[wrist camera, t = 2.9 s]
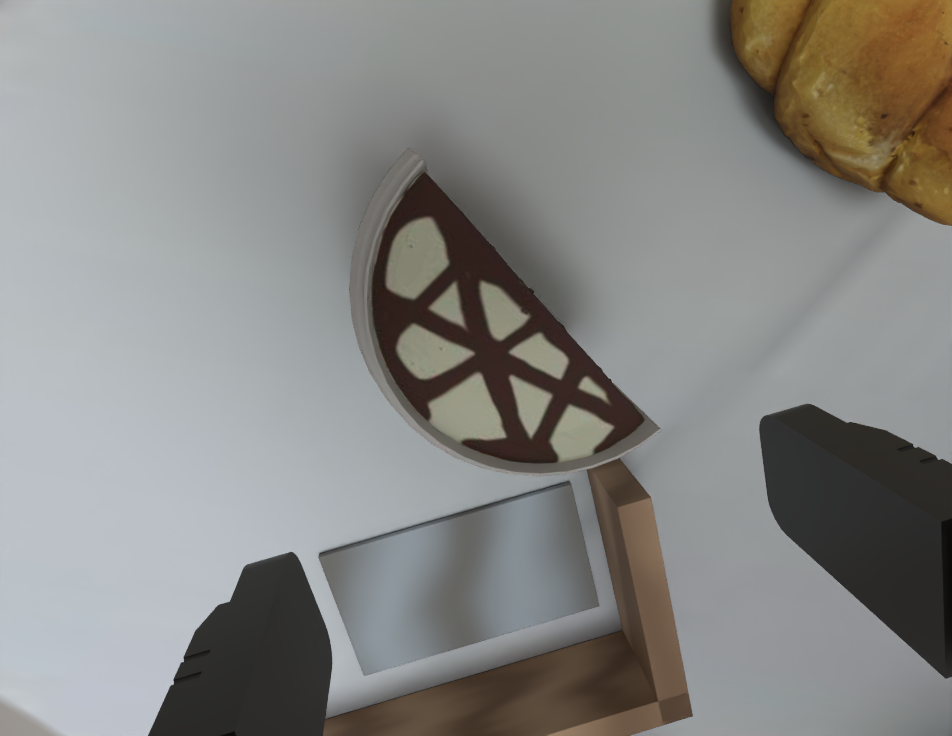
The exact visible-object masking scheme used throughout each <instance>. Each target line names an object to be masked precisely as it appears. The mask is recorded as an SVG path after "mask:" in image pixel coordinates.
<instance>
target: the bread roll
mask: <svg viewBox="0 0 952 736" xmlns="http://www.w3.org/2000/svg"><path fill="white" fill-rule="evenodd" d="M730 11H731V23H730V27H731V34H732V45H733V47H734V50H735V53H736V55H737V57H738V60H739V62H740V63H741V65H742V66H743V68H744V69H745V70H746V71H747V73H748V74H749V75H750V76H751V78H752V79H754V80H755V81H756V82H757V84H758V85H759V86H760V87H762V88H763V89H765V90H766V91H768V92H769V93H770V94H771V95H773V99H774V101H775V102H774V115H775V119H776V121H777V122H778V124H779V126H780V127H781V129H782V130H783V132H784V135H786V136H788V137H789V138H790V139H791V140H792V142H793V144H794V145H795V146H796V147H797V148H798V150H799V151H800V152H801V153H802V154H803V155H804V156H805V157H807V158H808V159H809V160H811V161H812V162H814V163H815V164H816V165H818V166H819V167H820V168H822V169H823V170H825V171H826V172H828V173H830V174H832V175H834V176H837V177H839V178H842V179H844V180H847V181H850V182H853V183H856V184H859V185H861V186H863V187H865V188H867V189H869V190H871V191H874V192H885V193H886V194H887V195H888V196H890V197H891V198H892V199H893V200H895V201H897V202H898V203H902V204H903V205H905V206H906V207H908V208H909V209H911V210H912V211H914V212H916V213H918V214H920V215H922V216H924V217H926V218H928V219H930V220H932V221H935V222H937V223H940V224H943V225H951V226H952V0H732V3H731V6H730Z"/></svg>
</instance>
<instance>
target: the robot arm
mask: <svg viewBox="0 0 952 736" xmlns="http://www.w3.org/2000/svg"><path fill="white" fill-rule="evenodd" d="M759 431H760V440H761V448H762V456H763V464H764V472H765V480H766V488H767V496H768V501H769V505H770V508H771V511H772V513H773V515H774V518H775V520H776V521H777V523H778V525H779V526H780V528H781V529H782V530H783V532H784V533H785V534H786V535H787V536H788V537H789V538H791V539H792V540H793V541H794V542H795V543H796V544H797V545H798V546H799V547H801V548H802V549H803V550H804V551H805V552H806V553H807V554H808V555H809V556H810V557H812V558H813V559H814V560H815V561H816V562H817V563H818V564H819V565H820V566H822V567H823V568H824V569H825V570H826V571H827V572H828V573H829V574H830V575H832V576H833V577H834V578H835V579H836V580H837V581H838V582H839V583H840V584H841V585H843V586H844V587H845V588H846V589H847V590H848V591H849V592H850V593H851V594H853V595H854V596H855V597H856V598H857V599H858V600H859V601H860V602H861V603H863V604H864V605H865V606H866V607H867V608H868V609H869V610H870V611H871V612H872V613H874V614H875V615H876V616H877V617H878V618H879V619H880V620H881V621H882V622H884V623H885V624H886V625H887V626H888V627H889V628H890V629H891V630H892V631H894V632H895V633H896V634H897V635H898V636H899V637H900V638H901V639H902V640H903V641H905V642H906V643H907V644H908V645H909V646H910V647H911V648H912V649H913V650H915V651H916V652H917V653H918V654H919V655H920V656H921V657H922V658H923V659H925V660H926V661H927V662H928V663H929V664H930V665H931V666H932V667H933V668H934V669H936V670H937V671H938V672H939V673H940V674H941V675H942V676H943V677H944V678H949V677H952V464H951V463H949V462H947V461H945V460H943V459H941V460H938V459H937V458H936V456H935V455H933V454H931V453H929V452H927V451H925V450H923V449H921V448H919V447H917V448H914V446H913V444H911V443H909V442H907V441H906V440H904V439H902V438H900V437H898V436H896V435H894V434H892V433H890V432H888V431H886V430H882V429H878V428H873V427H869V426H865V425H861V424H856V423H852V422H849V423H846V422H844V421H842V420H840V419H838V418H837V417H835V416H833V415H831V414H829V413H827V412H825V411H823V410H822V409H820V408H818V407H816V406H814V405H812V404H804V405H801V406H797V407H794V408H790V409H787V410H783V411H780V412H776V413H773V414H770V415H766V416H764V417H763V418H762V419H761V421H760V427H759ZM331 672H332V651H331V644H330V639H329V635H328V631H327V628H326V625H325V623H324V620H323V618H322V615H321V613H320V610H319V608H318V605H317V603H316V600H315V598H314V595H313V593H312V590H311V588H310V585H309V583H308V580H307V578H306V575H305V572H304V570H303V567H302V565H301V563H300V561H299V559H298V557H297V556H296V555H295V554H294V553H293V552H289V553H285V554H282V555H279V556H275V557H272V558H268V559H265V560H261V561H258V562H254V563H251V564H248V565H246V566H245V567H244V569H243V571H242V573H241V576H240V578H239V581H238V583H237V586H236V588H235V591H234V593H233V596H232V598H231V600H230V602H227V603H224V604H220V605H218V606H217V607H216V608H215V609H214V611H213V612H212V613H211V614H210V615H209V616H208V617H207V619H206V620H205V621H204V622H203V623H202V624H201V625H200V626H199V628H198V629H197V630H196V631H195V633H194V635H193V638H192V640H191V642H190V644H189V646H188V649H187V651H186V653H185V655H184V662H182V663H181V664H180V666H179V668H178V671H177V673H176V675H175V677H174V685H171V686H170V688H169V691H168V693H167V695H166V697H165V699H164V702H163V704H162V706H161V708H160V711H159V713H158V715H157V717H156V719H155V722H154V724H153V726H152V728H151V730H150V733H149V735H148V736H323V731H324V723H325V716H326V709H327V701H328V694H329V687H330V679H331Z"/></svg>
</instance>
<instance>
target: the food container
mask: <svg viewBox="0 0 952 736" xmlns="http://www.w3.org/2000/svg"><path fill="white" fill-rule="evenodd" d="M349 290H350V302H351V314H352V321H353V325H354V329H355V333H356V337H357V341H358V345H359V348H360V351H361V353H362V355H363V358H364V360H365V362H366V365H367V367H368V369H369V372H370V374H371V375H372V377H373V379H374V380H375V382H376V383H377V385H378V386H379V388H380V389H381V391H382V393H383V394H384V396H385V397H386V399H387V400H388V401H389V403H390V404H391V405H392V406H393V407H394V409H395V410H396V411H397V412H398V413H399V414H400V415H401V416H402V418H403V419H404V420H405V421H406V422H407V423H408V424H409V426H410V427H412V428H413V429H414V430H415V431H417V432H418V433H419V434H420V435H421V436H423V437H424V438H425V439H426V440H428V441H429V442H430V443H431V444H433V445H434V446H436V447H438V448H440V449H441V450H443V451H445V452H446V453H448V454H450V455H452V456H453V457H455V458H458V459H460V460H463V461H465V462H468V463H470V464H473V465H475V466H478V467H481V468H485V469H490V470H494V471H499V472H503V473H509V474H516V475H531V476H547V475H560V474H569V473H573V472H577V471H582V470H586V469H591V468H594V467H597V466H599V465H602V464H605V463H607V462H610V461H612V460H615V459H618V458H620V457H621V456H623V455H625V454H627V453H629V452H630V451H632V450H634V449H636V448H638V447H640V446H641V445H643V444H644V443H646V442H647V441H648V440H650V439H651V438H652V437H654V436H655V435H656V434H658V433H659V432H660V431H662V430H661V429H660V428H659V427H658V426H657V425H656V424H655V423H654V422H653V421H652V420H651V419H650V418H649V417H648V416H647V415H646V414H645V413H644V412H643V411H642V410H641V409H640V408H638V407H637V406H636V405H635V404H634V403H633V402H632V401H631V400H630V399H629V398H628V397H627V396H626V395H625V394H624V393H623V392H622V391H621V390H620V389H619V388H618V387H617V386H616V385H615V384H613V383H612V381H611V379H609V378H608V377H607V376H606V375H605V374H604V373H603V371H602V369H601V368H600V367H599V366H597V365H596V363H595V362H594V361H593V360H592V359H591V358H590V357H589V356H588V355H587V354H586V352H585V351H584V350H583V349H582V348H581V347H580V346H579V345H578V344H577V343H576V341H575V340H574V339H573V338H572V337H571V336H570V335H569V333H568V332H567V331H566V330H565V328H564V326H563V325H562V324H561V323H560V322H558V321H557V320H556V319H555V318H554V316H553V315H552V314H551V313H550V312H549V311H548V310H547V309H546V307H545V306H544V305H543V304H542V303H541V302H540V301H539V300H538V298H537V297H536V296H535V295H534V294H533V293H534V291H533V290H532V289H530V288H528V287H527V286H526V285H525V284H524V283H523V281H522V280H521V279H520V278H519V277H518V276H517V275H516V274H515V273H514V272H513V270H512V269H511V268H510V267H509V266H508V265H507V263H506V262H505V261H504V260H503V259H502V258H501V256H500V255H499V254H498V253H497V252H496V250H495V248H494V247H493V246H491V244H489V242H488V241H487V240H486V239H485V238H484V237H483V236H482V235H481V233H480V232H479V231H478V230H477V229H476V228H475V227H474V226H473V224H472V223H471V222H470V221H469V220H468V219H467V218H466V217H465V215H464V214H463V212H461V211H460V210H459V209H458V207H457V206H456V205H455V204H454V203H453V202H452V201H451V200H450V199H449V197H448V196H447V195H446V194H445V193H444V192H443V191H442V190H441V189H440V188H439V187H438V185H437V184H436V183H435V182H434V181H433V180H432V179H431V178H430V177H429V173H428V170H427V167H426V164H425V161H424V160H423V159H420V157H419V156H418V155H417V154H416V153H415V152H413V151H412V150H410V149H409V148H408V149H407V150H406V151H405V152H404V154H403V155H402V156H401V157H400V158H399V159H398V161H397V162H396V163H395V164H394V165H393V166H392V168H391V169H390V170H389V171H388V173H387V174H386V176H385V177H384V179H383V181H382V182H381V184H380V186H379V187H378V189H377V190H376V192H375V194H374V195H373V197H372V198H371V201H370V203H369V205H368V208H367V210H366V213H365V215H364V217H363V220H362V222H361V225H360V227H359V230H358V235H357V239H356V243H355V247H354V251H353V255H352V262H351V275H350V288H349Z"/></svg>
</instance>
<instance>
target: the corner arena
mask: <svg viewBox="0 0 952 736" xmlns="http://www.w3.org/2000/svg"><path fill="white" fill-rule="evenodd" d="M587 472H588V476H589V481H590V485H591V490H592V494H593V499H594V503H595V508H596V512H597V517H598V521H599V526H600V530H601V535H602V539H603V544H604V548H605V553H606V557H607V562H608V566H609V571H610V575H611V580H612V584H613V589H614V593H615V598H616V602H617V607H618V611H619V616H620V620H621V625H622V629H623V631H620V632H616V633H613V634H610V635H606V636H603V637H600V638H596V639H593V640H590V641H586V642H583V643H580V644H576V645H573V646H570V647H566V648H563V649H560V650H556V651H553V652H550V653H546V654H543V655H540V656H536V657H533V658H530V659H526V660H523V661H520V662H516V663H513V664H510V665H506V666H503V667H500V668H496V669H493V670H490V671H486V672H483V673H480V674H476V675H473V676H469V677H466V678H463V679H459V680H456V681H453V682H449V683H446V684H443V685H439V686H436V687H433V688H429V689H426V690H423V691H419V692H416V693H413V694H409V695H406V696H403V697H399V698H396V699H393V700H389V701H386V702H383V703H379V704H376V705H373V706H369V707H366V708H363V709H359V710H356V711H353V712H349V713H346V714H343V715H339V716H336V717H333V718H329V719H326V720H325V723H324V731H323V736H629V735H633V734H636V733H639V732H642V731H646V730H649V729H652V728H656V727H659V726H662V725H665V724H669V723H672V722H675V721H678V720H682V719H685V718H688V717H691V716H693V715H692V710H691V704H690V699H689V694H688V689H687V683H686V678H685V673H684V668H683V662H682V657H681V652H680V647H679V641H678V636H677V631H676V626H675V621H674V615H673V610H672V605H671V600H670V594H669V589H668V584H667V579H666V573H665V568H664V563H663V558H662V552H661V547H660V542H659V537H658V531H657V526H656V521H655V516H654V510H653V505H652V500H651V497H650V496H649V494H648V493H647V492H646V491H645V489H644V488H643V487H642V486H641V485H640V483H639V482H638V481H637V480H636V478H635V477H634V476H633V475H632V473H631V472H630V471H629V470H628V468H627V467H626V466H625V465H624V463H623V462H622V461H621V460H620V458H618V459H615V460H612V461H610V462H607V463H605V464H602V465H599V466H597V467H594V468H591V469H587ZM319 560H320V563H321V565H322V568H323V570H324V573H325V576H326V578H327V581H328V583H329V586H330V589H331V591H332V594H333V596H334V599H335V602H336V604H337V607H338V609H339V612H340V615H341V617H342V620H343V623H344V625H345V628H346V630H347V633H348V636H349V638H350V641H351V643H352V646H353V649H354V651H355V654H356V656H357V659H358V662H359V664H360V667H361V669H362V672H363V675H364V676H366V675H369V674H373V673H376V672H379V671H383V670H386V669H389V668H393V667H396V666H400V665H403V664H406V663H410V662H413V661H416V660H420V659H423V658H426V657H430V656H433V655H437V654H440V653H443V652H447V651H450V650H453V649H457V648H460V647H463V646H467V645H470V644H474V643H477V642H480V641H484V640H487V639H490V638H494V637H497V636H500V635H504V634H507V633H511V632H514V631H517V630H521V629H524V628H527V627H531V626H534V625H537V624H541V623H544V622H548V621H551V620H554V619H558V618H561V617H564V616H568V615H571V614H574V613H578V612H581V611H585V610H588V609H591V608H595V607H598V606H599V602H598V598H597V594H596V589H595V585H594V581H593V576H592V572H591V568H590V564H589V559H588V555H587V551H586V546H585V542H584V538H583V533H582V529H581V525H580V521H579V516H578V512H577V508H576V503H575V499H574V495H573V490H572V486H571V483H570V482H567V483H564V484H560V485H557V486H553V487H550V488H546V489H543V490H539V491H536V492H532V493H529V494H525V495H522V496H519V497H515V498H512V499H508V500H505V501H501V502H498V503H494V504H491V505H487V506H484V507H480V508H477V509H473V510H470V511H467V512H463V513H460V514H456V515H453V516H449V517H446V518H442V519H439V520H435V521H432V522H428V523H425V524H422V525H418V526H415V527H411V528H408V529H404V530H401V531H397V532H394V533H390V534H387V535H383V536H380V537H377V538H373V539H370V540H366V541H363V542H359V543H356V544H352V545H349V546H345V547H342V548H338V549H335V550H332V551H328V552H325V553H321V554H319Z"/></svg>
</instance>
